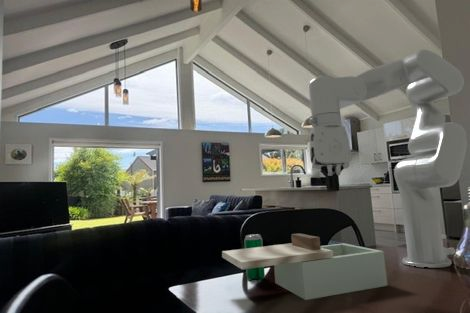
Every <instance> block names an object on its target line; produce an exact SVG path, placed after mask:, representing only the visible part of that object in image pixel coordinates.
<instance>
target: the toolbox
mask: <svg viewBox="0 0 470 313" xmlns="http://www.w3.org/2000/svg"><path fill="white" fill-rule="evenodd" d="M320 248H324V249H329V250H333V257H331V258H324V259H317V260H309V261H302V262H295V263H287V264H280V265H273V268H274V269H273V270H274V271H273V272H274V283H275V284H276V285H278V286H280V287H282V288H284V289H285V290H287V291H289V292H291V294H294V295H295V296H297V297H299V298H301V299H302V300H304V301H307V300H309V301H310V300H314V299H320V298H324V297H330V296H336V295H342V294H347V293H354V292H358V291H365V290H371V289H376V288H381V287H382V288H383V287H387V286H388V278H387V270H386V260H385V259H386V258H385V251H383V250H379V249H374V248H370V247H369V248H368V247H364V246H360V245H354V244H349V243H345V242H343V243H336V244H335V243H334V244H328V245H320Z"/></svg>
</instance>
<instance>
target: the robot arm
mask: <svg viewBox="0 0 470 313" xmlns="http://www.w3.org/2000/svg"><path fill="white" fill-rule="evenodd" d="M464 84H465V79H464V76H463V74H462V72H461V70H459V69H458V68H457V67H456V66H454V65H453V64H452V63H450V62H449V61H448V60H446V59H445V58H443V57H442V56H440V55H439V54H437V53H435V52H433V51H431V50H429V49H419V50H417V51H415V52H413V53H410V54H409V55H406V56H404V57H401V58H398V59H397V60H393V61H391V62H388V63H385V64H381V65H378V66H374V67H372V68H370V69H368V70H366V71H364V72H362V73H360V74H359V75H356V76H352V75H351V76H342V77H341V76H338V77H335V76H332V75H321V76H316V77H314V78H313V79H311V80H310V82H309V83H308V89H309V92H308V93H309V102H310V110H311V111H310V112H311V118H308V121H307V122H308V124H310V125H311V126H312V128H311V129H310V133H309V134H310V135H309V158H310V162H311V169H312V170H315V171H319V172H320V173H321V174H322V176H323V177H324V178H325V187H326V191H327V192H329V193H330V192H339V191H340V178H339V176H340V175H341V173H342V171H343V170H346V169H348V168H350V162H351V161H352V150H351V144H350V140H349V136H348V132H347V130H346V127H345V126H344V125H343V124H342V116H341V115H342V114H341V110H342V109H344V108H347V107H349V106H352V105H356V104H358V103H360V102H364V101H368V100H371V99H375V98H377V97H381V96H383V95H385V94H388V93H391V92H393V91H395V90H398V89H401V88H404V87H406V90H405V91H406V93H405V96H406V98H407V101H408V102H409V104H410V106H411V108H412V110H413V112H414V116H415V119H414V122H413V126H412V129H411V132H410V136H409V139H408V144H407V150H408V152H409V154H410V155H411V156H412V157H407V158H404V159H402V160H400V161H398V163H396V165H395V166H394V169H393V170H394V171H393V176H394V179H395V182H396V185H397V188H398V193H399V197H400V203H401V208H402V209H401V211H402V218H403V226H404V236H405V243H406V251H407V252H406V253H407V256H404V257H402V263H403V264H404V265H406V266H409V265H410V267H414V266H416V267H417V268H424V267H428V268H427V269H429V268H430V269H438V268H439V269H440V268H447V267H450V266H452V265H451V264H453V263H452V260H451V259H450V258H448V256H449V255H450V256H451V255H454V253H455V254H456V252H455V251H456V250H457V249H455V248H454V247H446V246H444V242H443V236H442V230H441V229H442V227H441V221H440V220H441V219H440V212H439V205H438V201H437V199H436V197H435V196H434V194H433V193H432V192H431V190H430V189H431V188H432V189H435V188H438V189H439V188H446V187H447V188H449V187H452V186H454V185H455V184H456V183H457V182H458V180H459V178H460V176H461V172H462V168H463V164H464V161H465V155H466V152H467V147H468V138H467V137H468V136H467V132H466V130H465V129H464V127H463V126H462V125H461V124H460V123H456V122H450V121H447V122H446V115H445V113H444V112H443V110H441V108H439V107H438V106H437V105H436V104H435V103H434V102H435V101H437V100H440V99H443V98H447V97H450V96H454V95H456V94H458V93H460V91H461V90H462V89H463V88H464ZM433 101H434V102H433Z"/></svg>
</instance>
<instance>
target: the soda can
mask: <svg viewBox="0 0 470 313" xmlns="http://www.w3.org/2000/svg"><path fill="white" fill-rule="evenodd" d="M243 241H244V249H246V248H255V247H264V246H263V238H262V236H261V234H258V233H257V234H255V233H254V234H253V233H252V234H246V235H245V238H244V240H243ZM245 270H246V272H245V273H246V278H247V280H249V281H252V280H257V281H262V280H263V279H264V278H265V277H266V276H265V275H266V274H265V267H258V268H251V269H245ZM261 279H262V280H261Z"/></svg>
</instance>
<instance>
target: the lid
mask: <svg viewBox="0 0 470 313" xmlns="http://www.w3.org/2000/svg"><path fill="white" fill-rule="evenodd" d="M320 239H321V238H320V236H315V235H309V234H305V233H292V234H291V243H290V242H289V243H283V244H273V245H267V246H266V245H265V246H263V247H255V248H246V249H245V248H239V249H231V250H222V251H221V258H223V259H224V260H226V261H227V262H229V263H231V264H233V265H234V266H236V267H237V268H239V269H241V270H243V271H244V270H246V269H251V268H258V267H264V268H265V267H271V266H273V267H274V265H280V264H287V263H295V262H302V261H309V260H317V259H324V258H331V257H333V250H329V249H324V248H320V246H321V240H320Z"/></svg>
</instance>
